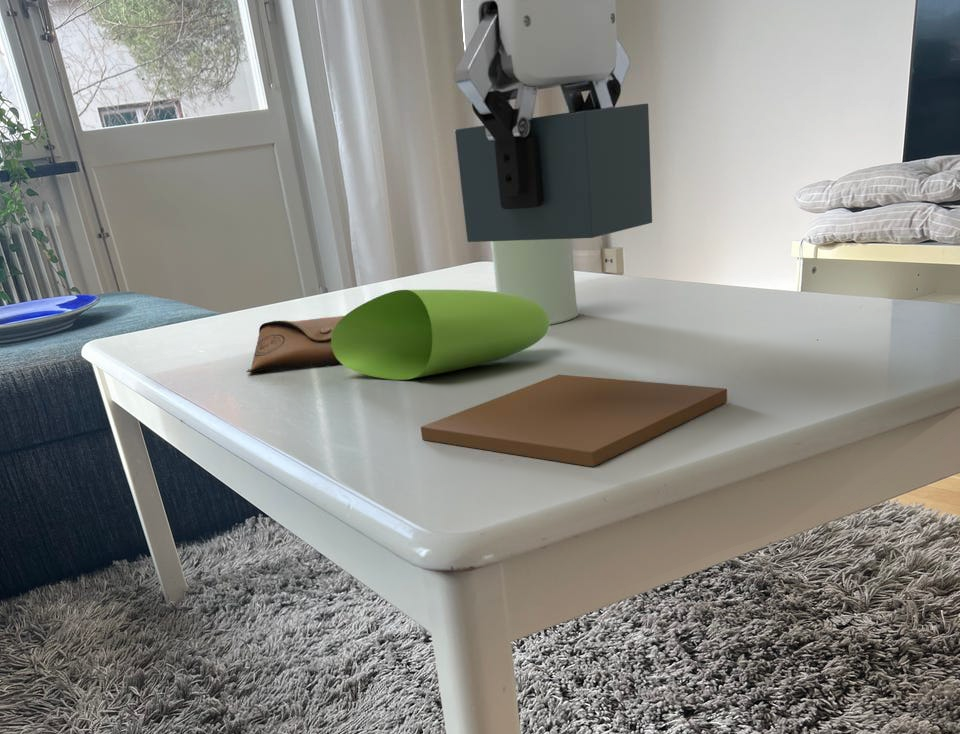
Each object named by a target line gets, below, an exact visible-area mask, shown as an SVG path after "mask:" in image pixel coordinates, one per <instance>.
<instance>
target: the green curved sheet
mask: <svg viewBox="0 0 960 734" xmlns="http://www.w3.org/2000/svg"><path fill="white" fill-rule="evenodd" d="M343 316H344V317H343V318H342V319H341V320H340V321H339V322H338V323H337V325H336V326H335V328H334V330H333V332H332V337H331V346H332V350H333V353H334V355H335V357H336V358H337V360H338V361H339V362H340V363H341V364H340V365H342V366H344V367H345V368H347V369H349V370H351V371H353V372H356V373H359V374H361V375H366V376H369V377H374V378H379V379H386V380H395V381H398V380H399V381H403V380H405V381H406V380H411V379H418V378H423V377H428V376H434V375H439V374H444V373H449V372H454V371H459V370H463V369H464V370H465V369H468V368H472V367H477V366H481V365H485V364H488V363H492V362H496V361H499V360H502V359H505V358H509V357H511V356H514V355H516V354H518V353H520V352H523V351H524V350H526V349H528V348H530V347H532V346H533V345H535V344H537V343H539V341H541V340H542V339H543V338H544V336H545V335H546V334H547V332H548V331H549V328H550V325H549V316H548V314H547V312H546V311H545V310H544V309H543V308H542V307H541V306H540V305H538V304H537V303H535V302H533V301H531V300H528V299H525V298H522V297H518V296H514V295H510V294H505V293H499V292H496V291H490V290H475V289H473V290H472V289H397V290H393V291H390V292H386V293H384V294H381V295H378V296H377V297H374V298H372V299H370V300H368V301H366V302H364V303H362V304H361V305H359V306H357V307H356V308H354V309H352V310H350V312H348V313H346V314H345V315H343Z"/></svg>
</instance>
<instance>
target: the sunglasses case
mask: <svg viewBox="0 0 960 734" xmlns="http://www.w3.org/2000/svg"><path fill="white" fill-rule="evenodd" d="M344 316H345V315H339V316H330V317H329V316H328V317H318V318H311V319H302V320H271V321H267V322H264V323H262V324H261V325H260V326H259V327H258V328H259V329H258V337H257V340H256V341H257V342H256V344H255V345H256V346H255V350H254V353H253V358H252V362H251V367H250V368H248V369H247V371H246V373H254V372H259V371H267V370H279V369H297V368H298V369H299V368H307V367H322V366H332V365H333V366H335V365H342V364H341V363H340V362H339V361H338V360H337V358H336V357H335V355H334V353H333V350H332V346H331V337H332V332H333V330H334V328H335V326H336V325H337V323H338V322H339V321H340V320H341V319H342V318H343V317H344Z"/></svg>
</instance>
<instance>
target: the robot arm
mask: <svg viewBox="0 0 960 734" xmlns="http://www.w3.org/2000/svg"><path fill="white" fill-rule="evenodd" d="M616 8H617V7H616V0H461V17H462V35H463V43H464V44H463V45H464V52H463V54H462V56H461V58H460V59H459V61H458V63H457V65H456V67H455V69H454V73H453V74H454V75H453V78H454V81H455V83H456V85H457V87H458V88H459V89H460V91H461V92H462V94H463V95H464V96H465V98H466V99H467V101H469V104H471V107H472V111H473V113H474V114H475V116H476V117H477V118H478V119H479V121H480V122H481V123H482V125H484V126H485V133H486V137H487V138H488V140H489V141H491V142H494V143H495V153H496V163H497V173H498V183H499V193H500V203H501V207H502V208H503V209H521V208H534V207H539V206H541V204H542V202H543V194H542V181H541V169H540V157H539V144H538V137H537V136H534V137H528V135H529V133H530V129H531V123H532V118H534V112H535V106H536V100H537V95H538V90H545V89H553V88H557V87H560V90H561V93H562V96H563V99H564V102H565V104H566V108H567V110H568V113H570V112H577V111H585V110H587V111H588V110H595V109H602V108H609V107H613V108H614V107H616V105H617V103H618V101H619V98H620V97H621V92H622V86H623V83H624V81H625V78H626V76H627V73H628V71H629V69H630V66H631V59H630V56H629V54H628V52H627V51H626V49H625V48H624V46H623V44H622V43H621V41H620V39H619V38H618V28H617V26H618V25H617V23H618V22H617V10H616ZM583 92H588V94H587V96H586V98H585V99H584V96H583ZM511 100H515V101H514V107H513V106H512V105H511Z"/></svg>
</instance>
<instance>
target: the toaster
mask: <svg viewBox="0 0 960 734" xmlns="http://www.w3.org/2000/svg"><path fill="white" fill-rule="evenodd" d="M534 136H537V137H538V144H539V157H540V169H541V181H542V194H543V202H542V204H541V206H539V207H534V208H521V209H503V208H502V207H501V203H500V193H499V183H498V173H497V163H496V153H495V143H494V142H491V141H489V140H488V138H487V137H486V133H485V126H484V124H482V125H476V126H469V127H463V128H456V129H454V137H455V145H456V153H457V163H458V172H459V180H460V189H461V196H462V205H463V214H464V223H465V231H466V241H467V242H468V243H482V242H483V243H484V242H485V243H486V242H491V241H516V240H547V239H573V240H574V239H593V238H597V237H601V236H606V235H609V234H613V233H619V232H621V231H625V230H629V229H630V230H631V229H634V228H637V227H642V226H645V225H650V224H652V223H653V205H652V203H653V202H652V201H653V200H652V177H651V176H652V175H651V173H652V172H651V146H650V143H651V141H650V116H649V103H639V104H630V105H623V106H615V107H614V108H613V107H609V108H602V109H595V110H588V111H587V110H585V111H577V112H570V113H569V112H563V113H557V114H550V115H549V114H548V115H542V116H535V117H533V118H532V123H531V129H530V133H529V135H528V137H534Z"/></svg>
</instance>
